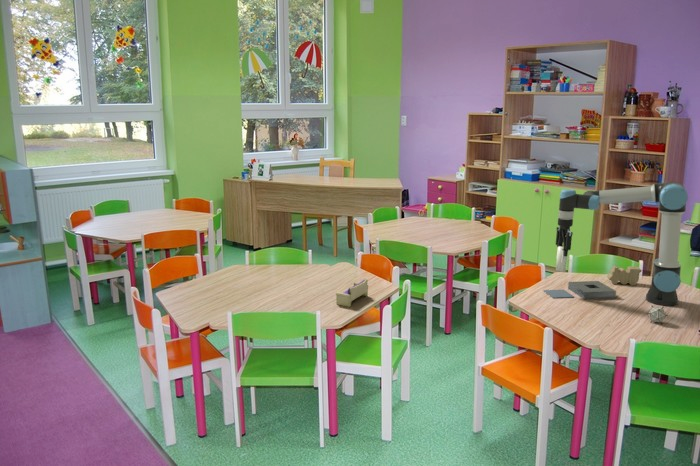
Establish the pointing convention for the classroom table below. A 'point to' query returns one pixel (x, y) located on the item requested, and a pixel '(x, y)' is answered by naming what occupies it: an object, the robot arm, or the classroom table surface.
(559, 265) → the end plug
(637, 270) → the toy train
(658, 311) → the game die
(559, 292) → the mat
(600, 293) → the housing
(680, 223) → the robot arm
